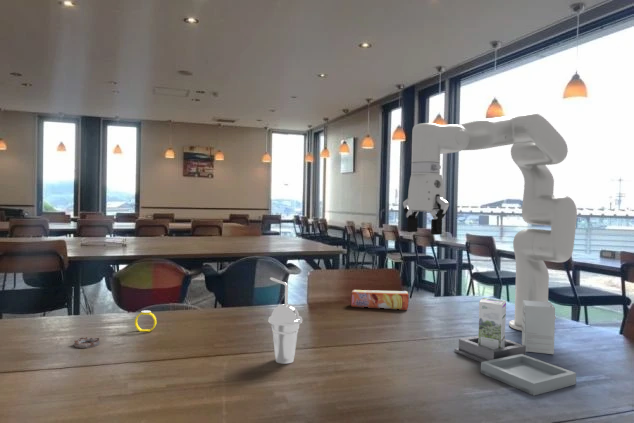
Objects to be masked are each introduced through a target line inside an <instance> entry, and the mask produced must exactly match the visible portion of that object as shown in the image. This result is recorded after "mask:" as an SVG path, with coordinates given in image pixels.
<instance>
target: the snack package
mask: <svg viewBox="0 0 634 423" xmlns="http://www.w3.org/2000/svg"><path fill="white" fill-rule="evenodd" d="M409 298H410V296H409V292H408V291H407V290H378V289H377V290H374V289H373V290H370V289H367V290H366V289H364V290H362V289H353V290H352V291H351V294H350V306H351V308H364V307H368V308H369V309H380V308H384V310H397V309H399V311H400V310H401V311H407V310H408V308H409V300H410V299H409ZM368 308H367V309H368Z"/></svg>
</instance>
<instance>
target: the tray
mask: <svg viewBox="0 0 634 423" xmlns="http://www.w3.org/2000/svg"><path fill="white" fill-rule="evenodd" d="M480 373H481V374H482V375H485V376H487V377H490V378H491V379H494V380H496V381H498V382H501V383H504V384H505V385H508V386H510V387H512V388H515V389H517V390H519V391H523V392H524V393H527V394H529V395H531V396H533V397H534V396H535V397H536V396H538V395H541V394H546V393H548V392H553V391H556V390H559V389H563V388H566V387H567V388H568V387H570V386H574V385H577V372H574V371H572V370H569V369H566V368H563V367H561V366H557V365H555V364H552V363H549V362H547V361H546V362H545V361H543V360H540V359H537V358H534V357H532V356H529V355H524V354H518V355H513V356H509V357H504V358H499V359H494V360H489V361H484V362H480Z"/></svg>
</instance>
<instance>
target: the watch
mask: <svg viewBox="0 0 634 423" xmlns="http://www.w3.org/2000/svg"><path fill="white" fill-rule="evenodd" d="M141 315H143V316H146V315H147V316H150V317H152V319H153V326H152V327H151V328H150V329H148V328H147V329H146V328H145V329H142V328H141V327H140V326H139V324H138V318H139V317H140V316H141ZM157 323H158V322H157V317H156V315H155V314H154V313H153V312H152V311H151V310H148V309H147V310H141V311H140V313H138V314H137V315H136V317H135V318H134V326H135V329H136V330H137V331H139V332H148V333H149V332H152V331H153V330H154V329H155V328H156V325H157Z"/></svg>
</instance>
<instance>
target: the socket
mask: <svg viewBox="0 0 634 423" xmlns="http://www.w3.org/2000/svg"><path fill="white" fill-rule="evenodd" d="M453 352H454V353H456V354H458V355H461V356H463V357H466V358H469V359H471V360H474V361H477V362H479V363H481V362H484V361H489V360H494V359H499V358H504V357H509V356H513V355H518V354H524V355H526V346H525V345H522V343H519V342H515V341H513V340H509V339H506V338H505V347H503V348H498V349H491V348H488V347H486V346H483V345H480V344H478V335H475V336H469V337H462V338H458V347H456V348H454V351H453ZM526 356H527V355H526Z"/></svg>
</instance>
